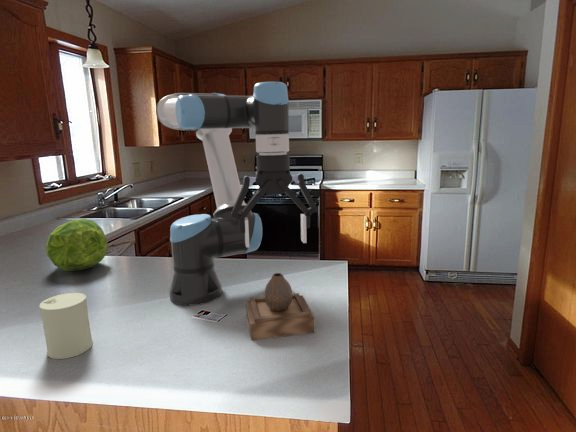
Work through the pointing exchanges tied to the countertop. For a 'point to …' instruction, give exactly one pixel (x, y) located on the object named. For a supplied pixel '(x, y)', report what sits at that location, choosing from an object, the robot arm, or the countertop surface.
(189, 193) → the countertop surface
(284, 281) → the vase
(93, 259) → the lettuce
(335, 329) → the countertop surface
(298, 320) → the brown wooden flat box
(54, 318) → the can
